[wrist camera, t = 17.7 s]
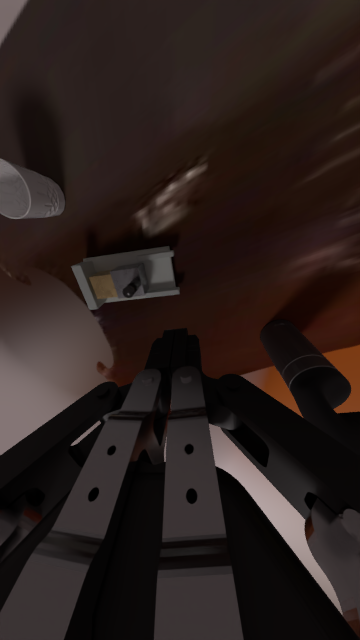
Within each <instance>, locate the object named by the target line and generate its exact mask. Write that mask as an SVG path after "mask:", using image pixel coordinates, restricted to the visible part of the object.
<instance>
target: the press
mask: <svg viewBox="0 0 360 640" xmlns="http://www.w3.org/2000/svg"><path fill="white" fill-rule="evenodd" d="M173 256H174V250H170V248H169V246H165V247H158V248H152V249H145V250H138V251H131V252H125V253H118V254H111V255H104V256H98V257H91V258H85V259H83V260H84V262H82V263H79V264H76V265H74V266H71V267H72V270H73V272H74V274H75V277H76V279H77V281H78V284H79V286H80V288H81V290H82V293H83V295H84V297H85V300H86V302H87V304H88V307H89V309H90V310H92V309H98V308H99V307H100V306H101V305H102V304H104V303H105V302H114V301H122V300H131V299H140V298H149V297H157V296H166V295H175V294H179V292H180V289H179V287H176V285H175V279H174V273H173V266H172V260H171V257H173ZM137 263H144V267H145V271H146V275H147V280H148V284H149V290H148V291H147V293H146V294H145V296H137V297H131V298H120V299H119V298H118V297H112V298H103V299H97V296H96V294H95V291H94V289H93V286H92V284H91V281H90V279H89V277H91V276H92V275H94V274H96V273H98V272H100V271H107V270H113V269H115V268H116V267H118V266H123V265H130V264H137Z"/></svg>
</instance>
